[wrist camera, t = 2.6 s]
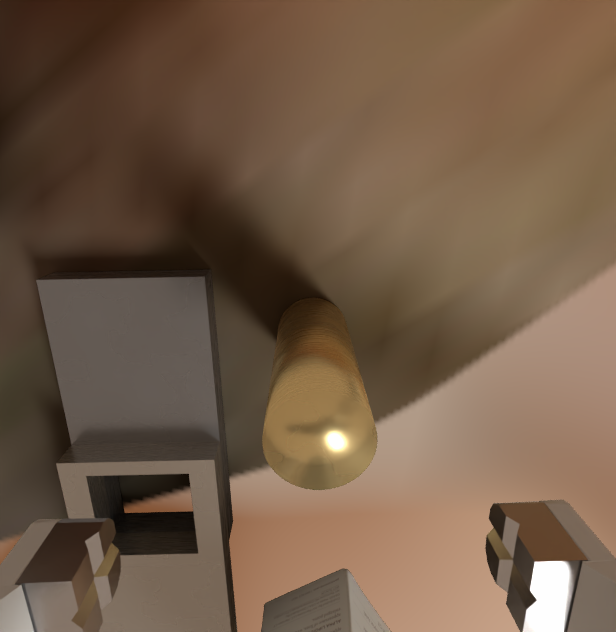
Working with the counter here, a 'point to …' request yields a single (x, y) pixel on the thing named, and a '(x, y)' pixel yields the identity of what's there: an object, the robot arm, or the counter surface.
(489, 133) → the counter surface
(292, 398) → the pin
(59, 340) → the bar with square hole
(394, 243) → the counter surface
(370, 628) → the skincare box
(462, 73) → the counter surface
